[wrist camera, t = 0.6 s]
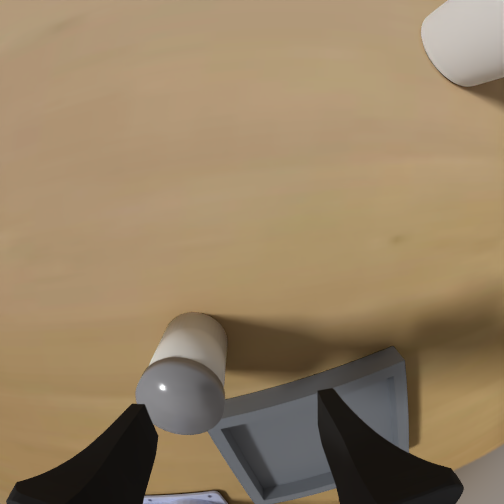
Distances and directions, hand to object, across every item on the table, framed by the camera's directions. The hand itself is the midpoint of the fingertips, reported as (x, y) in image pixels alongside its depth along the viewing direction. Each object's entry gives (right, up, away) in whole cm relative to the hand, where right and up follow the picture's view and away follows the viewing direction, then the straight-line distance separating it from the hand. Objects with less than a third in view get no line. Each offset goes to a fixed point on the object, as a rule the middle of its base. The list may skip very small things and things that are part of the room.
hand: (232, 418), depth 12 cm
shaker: (-3, +1, +10) cm, 10 cm away
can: (+16, +22, +5) cm, 28 cm away
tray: (+6, -9, +12) cm, 16 cm away
